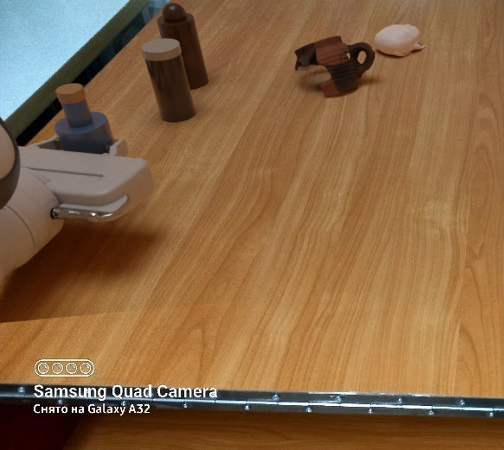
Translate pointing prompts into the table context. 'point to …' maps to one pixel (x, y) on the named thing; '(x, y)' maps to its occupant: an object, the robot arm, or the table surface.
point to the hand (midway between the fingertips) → (93, 142)
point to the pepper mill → (184, 41)
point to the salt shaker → (169, 79)
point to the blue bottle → (81, 123)
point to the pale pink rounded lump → (398, 39)
